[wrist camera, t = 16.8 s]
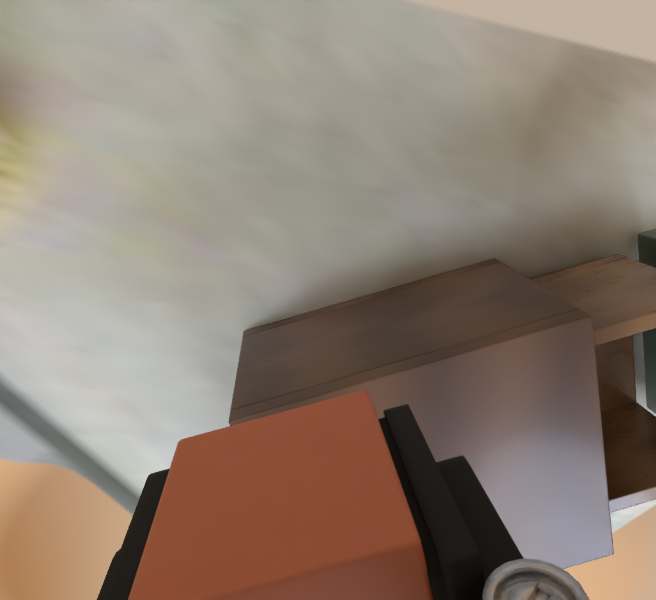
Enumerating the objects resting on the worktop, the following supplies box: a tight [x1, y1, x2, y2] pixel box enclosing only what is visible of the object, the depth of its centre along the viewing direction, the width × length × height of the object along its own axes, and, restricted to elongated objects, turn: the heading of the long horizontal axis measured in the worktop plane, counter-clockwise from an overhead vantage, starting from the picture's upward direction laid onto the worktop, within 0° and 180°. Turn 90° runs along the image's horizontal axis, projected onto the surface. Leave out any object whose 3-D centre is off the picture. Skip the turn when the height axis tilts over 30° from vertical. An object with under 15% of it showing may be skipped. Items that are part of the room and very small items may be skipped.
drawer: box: [530, 229, 656, 512], centre depth 25 cm, size 19×11×7 cm, turn 105°
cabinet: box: [229, 259, 614, 569], centre depth 25 cm, size 15×13×9 cm
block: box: [128, 390, 434, 600], centre depth 9 cm, size 4×4×4 cm
